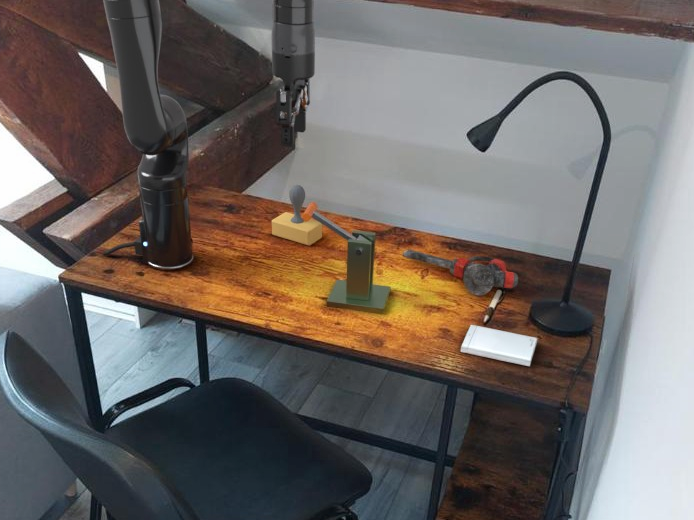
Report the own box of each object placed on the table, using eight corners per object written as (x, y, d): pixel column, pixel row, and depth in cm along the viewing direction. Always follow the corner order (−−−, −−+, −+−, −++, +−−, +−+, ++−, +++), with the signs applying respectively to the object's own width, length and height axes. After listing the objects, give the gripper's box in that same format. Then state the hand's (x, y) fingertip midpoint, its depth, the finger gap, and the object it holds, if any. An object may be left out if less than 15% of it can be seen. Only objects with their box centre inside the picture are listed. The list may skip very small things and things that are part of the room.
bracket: (326, 306, 155) (327, 243, 148) (336, 284, 163) (338, 223, 155) (382, 313, 154) (386, 250, 146) (390, 291, 161) (394, 230, 154)
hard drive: (538, 337, 147) (471, 323, 149) (530, 360, 140) (461, 345, 143) (536, 344, 148) (470, 330, 150) (529, 368, 141) (460, 352, 144)
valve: (532, 285, 170) (504, 304, 158) (425, 256, 182) (391, 271, 170) (538, 256, 168) (509, 273, 156) (428, 229, 179) (394, 242, 167)
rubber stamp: (322, 237, 181) (323, 186, 174) (308, 246, 176) (309, 194, 170) (285, 226, 184) (285, 176, 178) (271, 235, 180) (270, 184, 173)
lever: (299, 220, 148) (305, 210, 147) (307, 208, 153) (313, 198, 151) (361, 260, 150) (368, 251, 149) (367, 248, 155) (373, 238, 154)
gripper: (283, 37, 147) (284, 125, 157) (260, 55, 136) (263, 149, 145) (323, 41, 147) (322, 129, 156) (303, 59, 135) (303, 153, 144)
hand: (293, 138), depth 150 cm, fingers open, 8 cm apart
